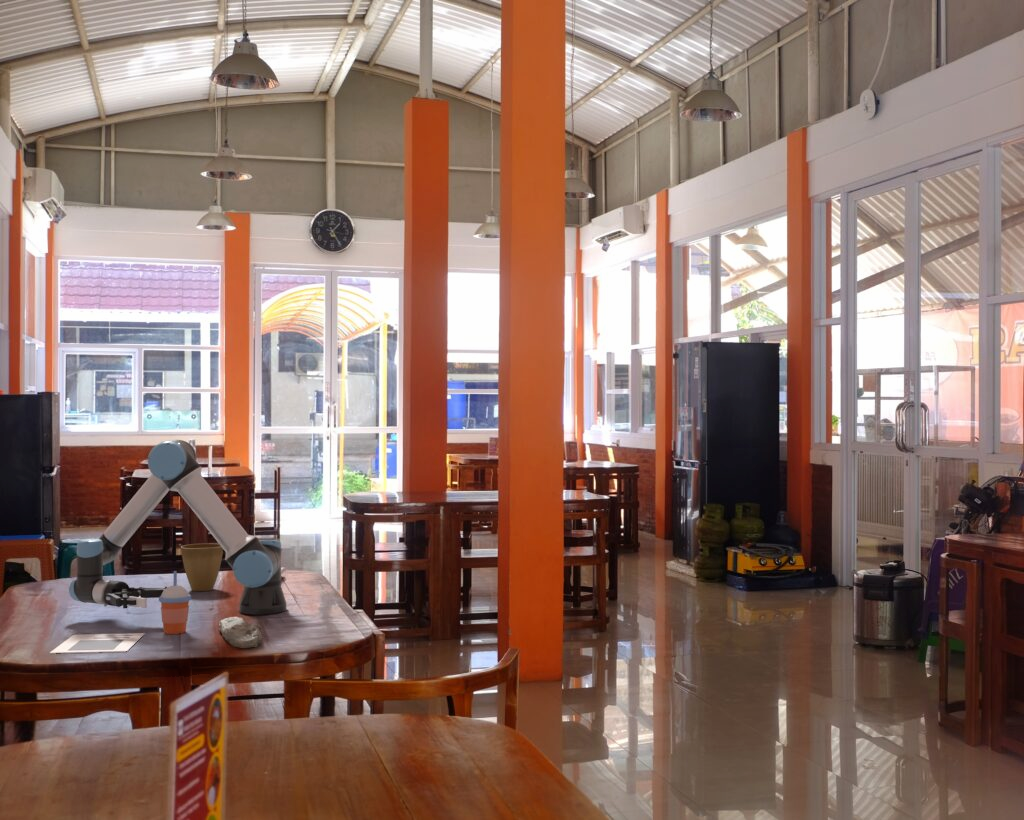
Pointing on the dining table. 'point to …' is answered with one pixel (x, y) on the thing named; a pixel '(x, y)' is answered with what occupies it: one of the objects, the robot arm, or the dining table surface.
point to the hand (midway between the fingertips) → (163, 599)
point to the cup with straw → (174, 608)
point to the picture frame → (98, 643)
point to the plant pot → (202, 565)
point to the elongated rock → (240, 632)
